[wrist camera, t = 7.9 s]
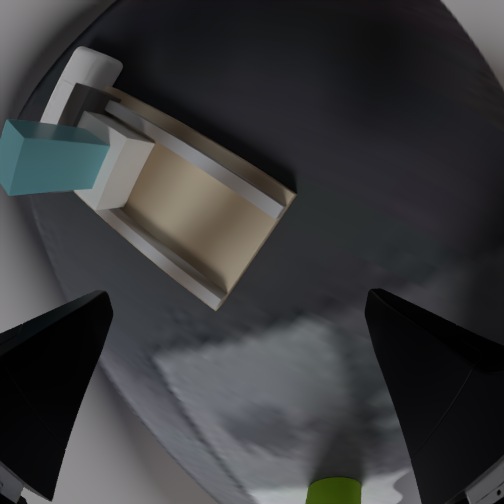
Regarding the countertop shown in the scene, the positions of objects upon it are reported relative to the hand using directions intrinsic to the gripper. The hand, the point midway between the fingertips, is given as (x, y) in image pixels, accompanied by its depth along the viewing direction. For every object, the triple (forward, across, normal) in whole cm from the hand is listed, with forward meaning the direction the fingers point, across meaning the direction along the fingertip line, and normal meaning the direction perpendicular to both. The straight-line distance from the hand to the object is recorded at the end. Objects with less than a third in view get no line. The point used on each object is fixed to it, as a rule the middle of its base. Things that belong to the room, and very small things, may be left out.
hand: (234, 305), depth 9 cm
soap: (+16, +14, -10) cm, 24 cm away
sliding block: (+12, +9, -4) cm, 15 cm away
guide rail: (+12, +6, -2) cm, 14 cm away
